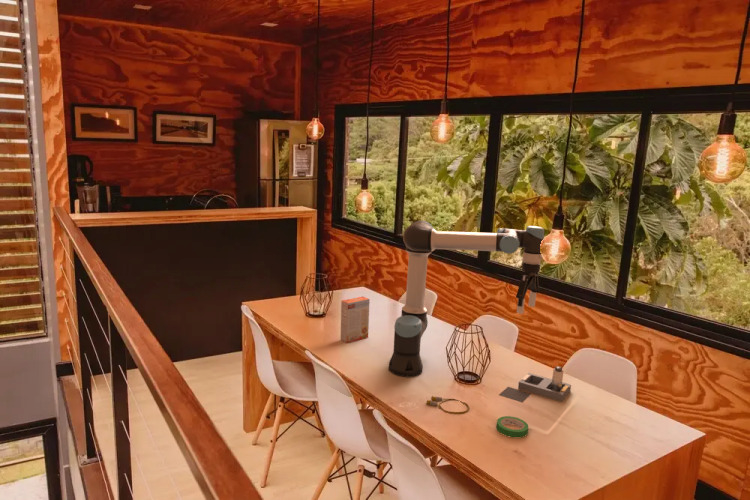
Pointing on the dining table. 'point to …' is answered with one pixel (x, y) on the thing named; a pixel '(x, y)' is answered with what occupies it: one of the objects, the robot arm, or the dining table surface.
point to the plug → (557, 379)
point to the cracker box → (354, 319)
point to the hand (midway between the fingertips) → (525, 309)
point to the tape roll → (512, 432)
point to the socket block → (543, 387)
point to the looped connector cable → (442, 402)
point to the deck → (515, 394)
